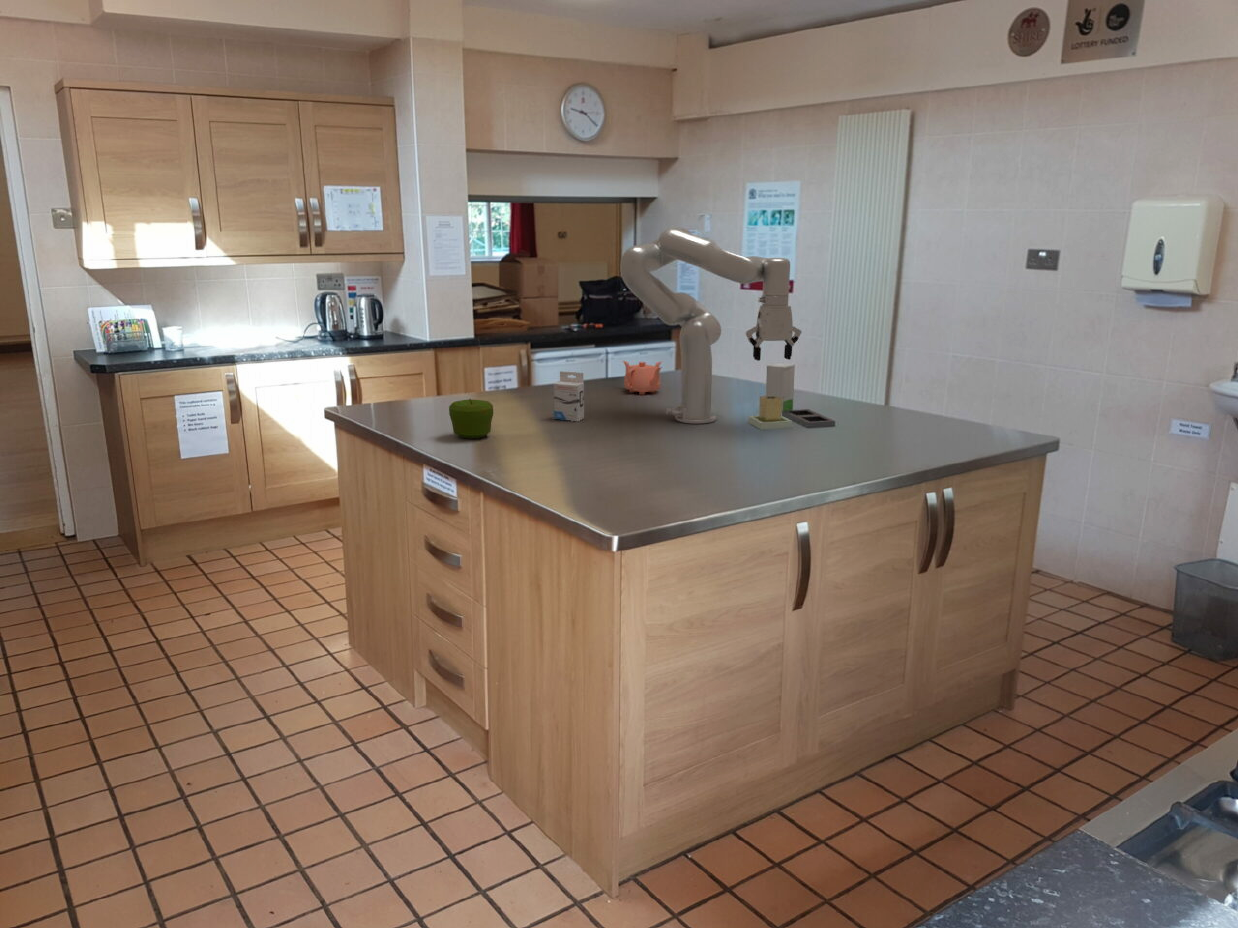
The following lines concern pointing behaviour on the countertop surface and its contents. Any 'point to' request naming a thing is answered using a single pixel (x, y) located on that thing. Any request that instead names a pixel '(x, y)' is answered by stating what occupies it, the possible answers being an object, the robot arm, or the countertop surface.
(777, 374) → the skincare box
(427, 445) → the countertop surface
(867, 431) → the countertop surface
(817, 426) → the grey metal tray
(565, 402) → the ink box
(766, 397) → the pale yellow tall block
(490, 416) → the apple
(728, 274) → the robot arm
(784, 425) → the tray
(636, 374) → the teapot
